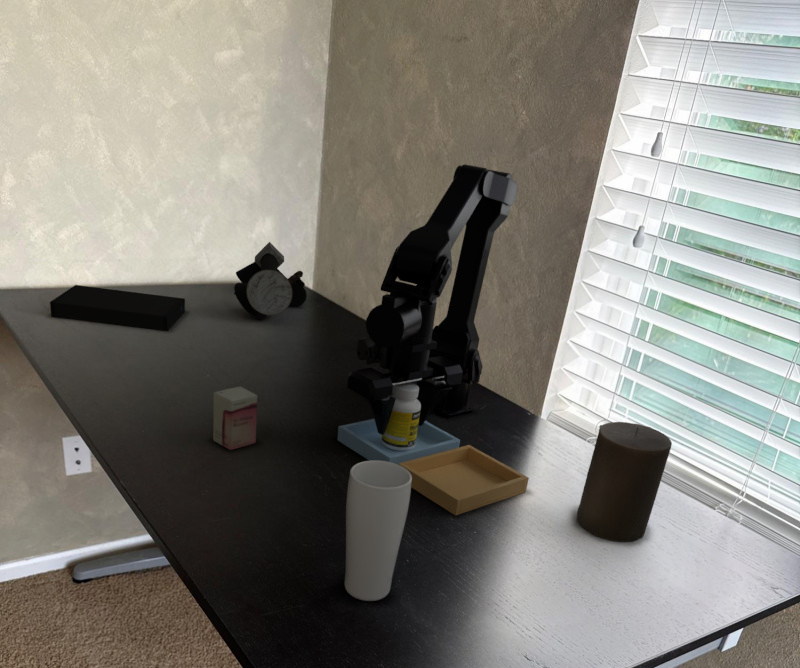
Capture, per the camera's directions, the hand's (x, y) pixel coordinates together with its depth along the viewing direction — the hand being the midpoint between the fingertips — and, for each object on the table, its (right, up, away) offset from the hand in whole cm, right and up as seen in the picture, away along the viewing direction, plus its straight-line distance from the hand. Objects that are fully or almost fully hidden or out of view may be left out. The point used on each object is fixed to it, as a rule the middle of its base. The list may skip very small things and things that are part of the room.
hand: (400, 429), depth 127 cm
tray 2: (+9, -9, -7) cm, 15 cm away
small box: (-25, -3, -4) cm, 26 cm away
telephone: (-30, +35, +59) cm, 75 cm away
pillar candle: (+30, -15, -12) cm, 35 cm away
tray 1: (0, -3, +1) cm, 3 cm away
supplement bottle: (0, -2, +1) cm, 3 cm away
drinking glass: (-4, -23, -34) cm, 41 cm away
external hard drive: (-58, +29, +42) cm, 77 cm away
